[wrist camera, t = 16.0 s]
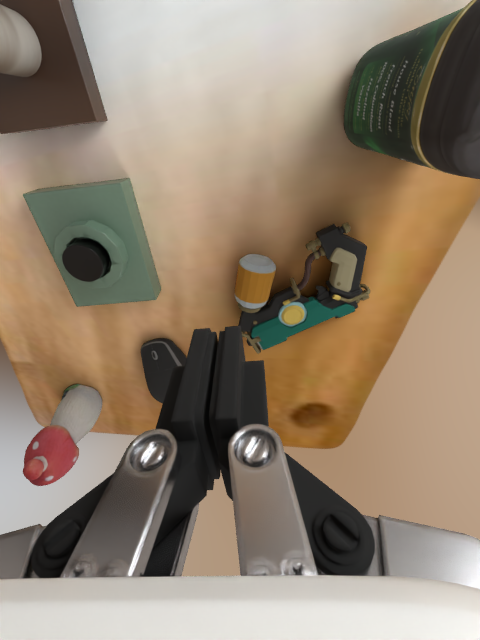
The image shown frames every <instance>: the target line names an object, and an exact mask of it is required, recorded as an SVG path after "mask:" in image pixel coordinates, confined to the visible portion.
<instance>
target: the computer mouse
mask: <svg viewBox="0 0 480 640" xmlns="http://www.w3.org/2000/svg"><path fill="white" fill-rule="evenodd" d="M141 357H142V363H143V368H144V373H145V378H146V382H147V386H148V389H149V391H150V393H151V395H152V396H153V397H154V398H155V399H156V400H157V401H159V402H161V403H163V402H164V399H165V395H166V392H167V389H168V385H169V382H170V378H171V375H172V372H173V369H174V367H175V366H185V364H186V360H187V358H186V356H185V355H184V354H183V353H182V351H181V350H180V349H179V348H178V347H177V346H176V345H175V344H174V343H173V342H172V341H171V340H169V339H165V338H160V339H154V340H150V341H148V342H146V343H144V344H143V345H142V347H141Z"/></svg>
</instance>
